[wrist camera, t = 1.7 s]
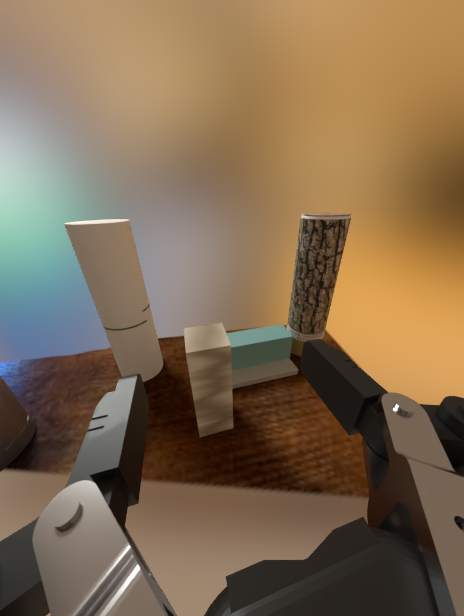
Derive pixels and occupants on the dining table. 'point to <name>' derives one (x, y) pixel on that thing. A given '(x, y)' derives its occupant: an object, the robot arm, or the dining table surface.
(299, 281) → the bark log cylinder
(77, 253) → the cylindrical container
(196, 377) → the ash post
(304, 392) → the dining table surface
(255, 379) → the stand
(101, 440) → the robot arm
